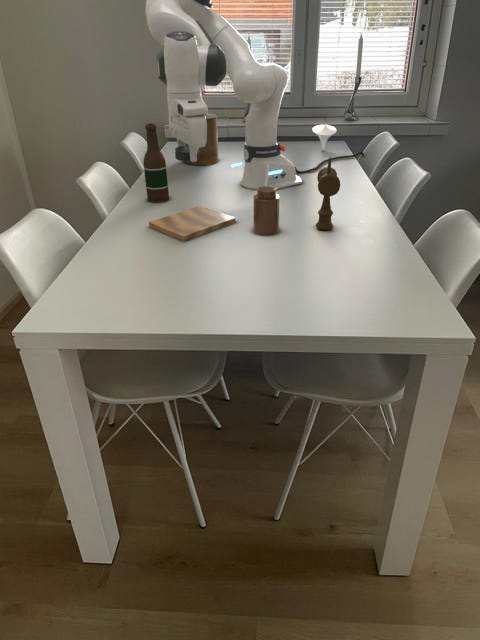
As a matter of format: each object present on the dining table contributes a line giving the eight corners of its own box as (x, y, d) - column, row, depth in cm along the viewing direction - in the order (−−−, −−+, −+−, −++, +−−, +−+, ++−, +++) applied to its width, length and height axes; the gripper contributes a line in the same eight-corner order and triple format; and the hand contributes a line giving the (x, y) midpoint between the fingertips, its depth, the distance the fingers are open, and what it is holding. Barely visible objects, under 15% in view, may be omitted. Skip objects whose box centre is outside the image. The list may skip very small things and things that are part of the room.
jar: (270, 224, 144) (271, 184, 138) (283, 232, 139) (284, 190, 132) (249, 228, 142) (248, 187, 135) (260, 237, 136) (261, 194, 130)
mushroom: (336, 153, 218) (339, 125, 212) (312, 153, 218) (314, 125, 212) (333, 148, 227) (335, 120, 221) (309, 148, 227) (311, 121, 221)
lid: (203, 159, 134) (203, 150, 132) (180, 162, 131) (179, 153, 130) (195, 153, 138) (194, 144, 137) (172, 155, 136) (171, 146, 135)
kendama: (314, 234, 137) (319, 161, 127) (313, 222, 146) (317, 152, 135) (335, 234, 137) (342, 161, 126) (333, 222, 145) (339, 153, 135)
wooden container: (225, 159, 212) (223, 104, 200) (205, 167, 201) (202, 109, 189) (197, 155, 218) (194, 102, 207) (176, 162, 208) (172, 106, 196)
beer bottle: (165, 203, 162) (158, 126, 149) (143, 202, 163) (134, 126, 151) (172, 196, 168) (166, 122, 156) (151, 195, 170) (143, 121, 157)
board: (200, 210, 156) (200, 205, 155) (235, 222, 146) (235, 217, 145) (149, 226, 144) (148, 222, 143) (184, 241, 134) (183, 236, 133)
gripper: (161, 99, 134) (165, 151, 142) (186, 110, 119) (190, 167, 126) (182, 98, 137) (186, 149, 144) (210, 108, 121) (212, 165, 128)
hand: (188, 158), depth 135 cm, fingers closed on lid, 6 cm apart
